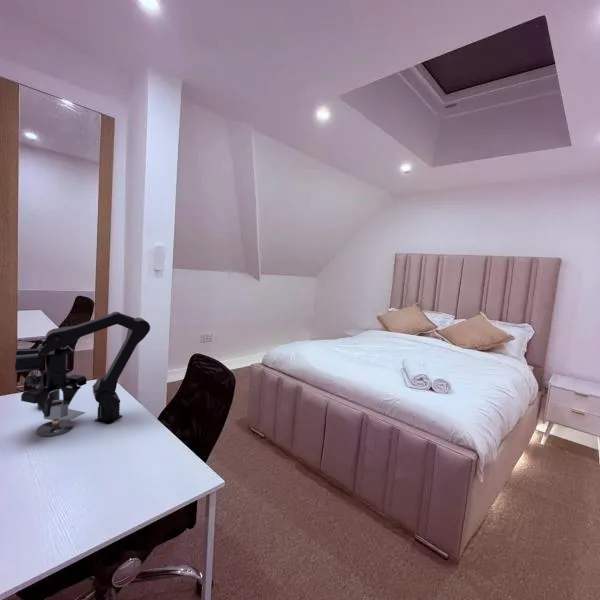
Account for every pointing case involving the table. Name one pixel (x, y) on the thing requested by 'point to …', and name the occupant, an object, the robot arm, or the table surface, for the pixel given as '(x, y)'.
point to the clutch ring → (58, 409)
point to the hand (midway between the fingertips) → (56, 412)
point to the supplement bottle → (51, 395)
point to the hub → (55, 428)
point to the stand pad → (72, 414)
